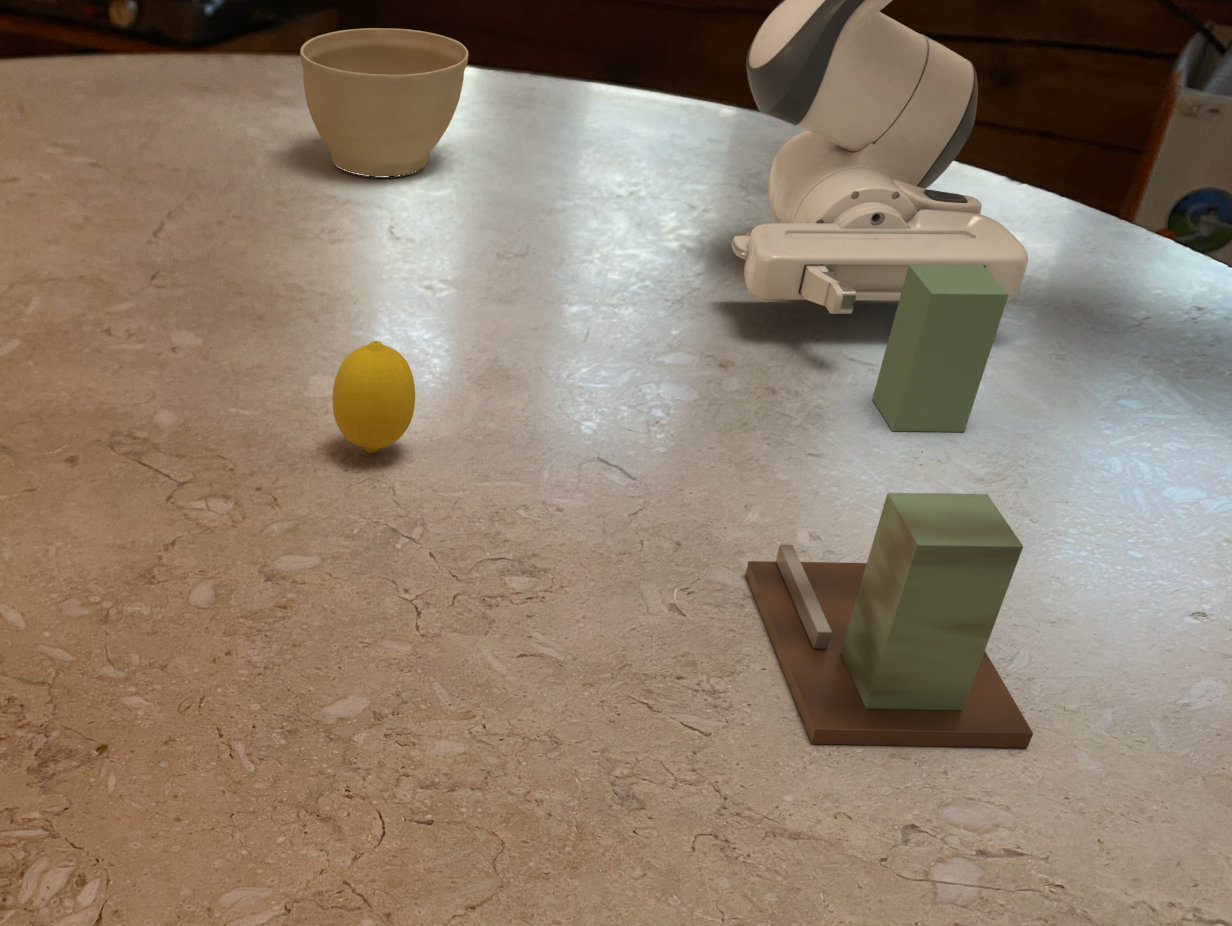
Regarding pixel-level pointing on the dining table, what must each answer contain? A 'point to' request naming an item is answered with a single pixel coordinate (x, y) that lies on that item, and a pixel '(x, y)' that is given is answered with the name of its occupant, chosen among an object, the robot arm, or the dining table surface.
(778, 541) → the dining table surface
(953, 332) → the back pad
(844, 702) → the mount board
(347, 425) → the lemon
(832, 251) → the robot arm
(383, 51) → the planter bowl
